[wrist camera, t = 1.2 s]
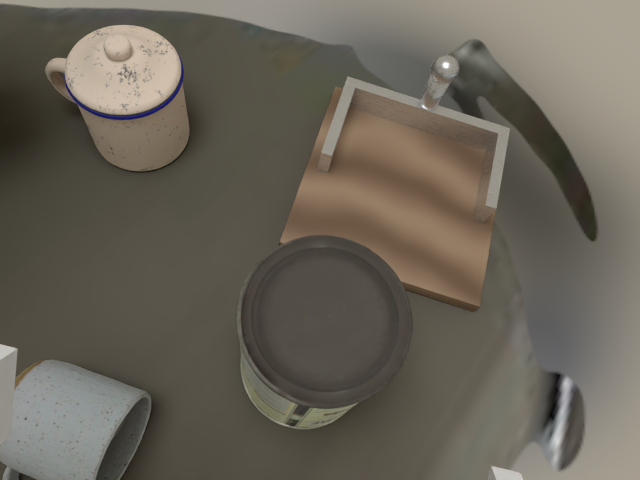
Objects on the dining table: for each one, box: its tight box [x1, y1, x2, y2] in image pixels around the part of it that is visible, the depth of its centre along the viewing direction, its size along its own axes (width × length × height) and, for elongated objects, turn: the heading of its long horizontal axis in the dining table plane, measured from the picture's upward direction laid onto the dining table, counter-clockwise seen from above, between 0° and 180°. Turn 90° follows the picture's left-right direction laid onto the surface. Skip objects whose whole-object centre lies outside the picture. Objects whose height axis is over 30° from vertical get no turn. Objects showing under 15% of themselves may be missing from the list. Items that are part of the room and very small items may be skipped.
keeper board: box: [279, 87, 496, 311], centre depth 51 cm, size 18×18×2 cm
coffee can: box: [236, 235, 413, 429], centre depth 38 cm, size 10×10×14 cm
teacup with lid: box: [45, 25, 189, 171], centre depth 45 cm, size 12×9×12 cm
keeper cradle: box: [317, 55, 510, 224], centre depth 48 cm, size 10×16×9 cm, turn 74°
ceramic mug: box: [0, 360, 151, 480], centre depth 36 cm, size 11×8×8 cm
